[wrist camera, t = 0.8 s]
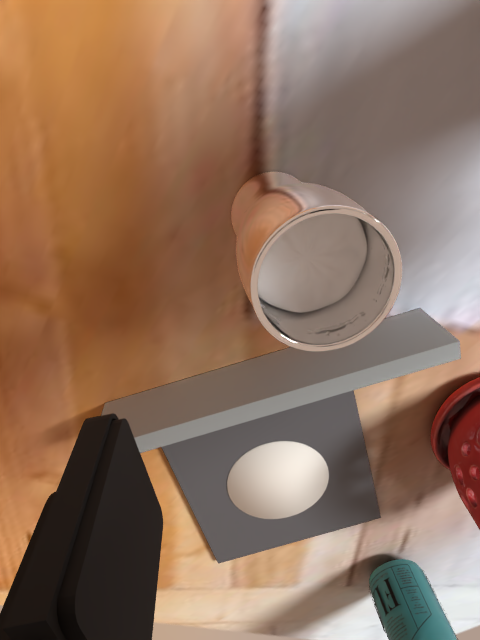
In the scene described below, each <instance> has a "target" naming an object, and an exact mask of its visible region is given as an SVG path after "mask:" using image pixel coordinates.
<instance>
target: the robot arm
mask: <svg viewBox="0 0 480 640" xmlns="http://www.w3.org/2000/svg"><path fill="white" fill-rule="evenodd" d="M162 531H163V516H162V511H161V507H160V505H159V502H158V499H157V497H156V494H155V491H154V489H153V486H152V484H151V481H150V478H149V476H148V473H147V470H146V468H145V465H144V462H143V460H142V457H141V455H140V452H139V449H138V447H137V444H136V441H135V439H134V436H133V434H132V431H131V428H130V426H129V423H128V421H127V420H126V419H125V418H123V419H118V417H117V415H116V414H114V413H112V414H107V415H102V416H97V417H92V418H88V419H86V420H85V421H84V423H83V425H82V428H81V430H80V433H79V435H78V438H77V440H76V443H75V446H74V448H73V451H72V453H71V456H70V458H69V461H68V463H67V466H66V468H65V471H64V473H63V476H62V479H61V481H60V484H59V486H58V489H57V491H56V492H54V493H53V494H51V495H50V496H49V498H48V500H47V502H46V503H45V506H44V508H43V511H42V513H41V515H40V518H39V520H38V523H37V525H36V528H35V530H34V533H33V535H32V537H31V540H30V542H29V545H28V547H27V550H26V552H25V554H24V557H23V559H22V562H21V564H20V567H19V569H18V572H17V574H16V576H15V579H14V581H13V584H12V586H11V589H10V591H9V593H8V596H7V598H6V601H5V603H4V606H3V608H2V611H1V613H0V640H152V631H153V621H154V611H155V601H156V591H157V581H158V571H159V561H160V551H161V541H162Z"/></svg>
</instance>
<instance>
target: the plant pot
mask: <svg viewBox="0 0 480 640" xmlns="http://www.w3.org/2000/svg"><path fill="white" fill-rule="evenodd" d="M431 446H432V449H433V452H434V454H435V456H436V458H437V459H438V461H439V462H440V463H441V464H442V465H443V466H445V467H446V468H447V469H449V470H451V474H452V478H453V481H454V484H455V486H456V489H457V491H458V493H459V495H460V498H461V499H462V501H463V503H464V505H465V506H466V508H467V510H468V511H469V513H470V514H471V516H472V518H473V519H474V521H475V523H476V524H477V526H478V528H479V529H480V377H479V378H476V379H474V380H472V381H470V382H468V383H466V384H465V385H463V386H461V387H460V388H459V389H457V390H456V391H455V392H453V393H452V394H451V395H450V396H449V397H448V398H447V399H446V400H445V402H444V403H443V404H442V406H441V407H440V409H439V410H438V412H437V414H436V416H435V419H434V422H433V425H432V429H431Z"/></svg>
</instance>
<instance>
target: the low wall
mask: <svg viewBox="0 0 480 640" xmlns="http://www.w3.org/2000/svg"><path fill="white" fill-rule="evenodd" d="M457 359H461V353H460V341H459V340H458V339H456V338H455V337H454V336H453V335H452V334H451V333H449V332H448V331H447V330H446V329H445V328H443V327H442V326H441V325H440V324H439V323H437V322H436V321H435V320H434V319H433V318H432V317H430V316H429V315H428V314H427V313H426V312H424V311H423V310H422V309H421V308H419V309H415V310H412V311H409V312H405V313H402V314H399V315H395V316H392V317H389V318H385V319H384V320H383V321H382V322H381V323H380V324H379V325H378V326H377V327H376V328H375V329H374V330H373V331H372V332H370V333H369V334H368V335H367V336H365V337H364V338H362V339H360V340H359V341H357V342H355V343H353V344H351V345H348V346H346V347H343V348H339V349H335V350H330V351H320V352H315V351H305V350H300V349H296V348H293V347H289V348H286V349H283V350H279V351H276V352H273V353H269V354H266V355H263V356H259V357H256V358H253V359H250V360H246V361H243V362H240V363H236V364H233V365H230V366H226V367H223V368H220V369H216V370H213V371H210V372H206V373H203V374H200V375H196V376H193V377H190V378H187V379H183V380H180V381H177V382H173V383H170V384H167V385H163V386H160V387H157V388H153V389H150V390H147V391H143V392H140V393H137V394H133V395H130V396H127V397H124V398H120V399H117V400H114V401H110V402H107V403H105V405H104V408H103V411H102V414H101V416H102V415H107V414H112V413H114V414H116V415H117V417H118V419H123V418H125V419H126V420H127V421H128V423H129V426H130V428H131V431H132V434H133V436H134V439H135V441H136V444H137V447H138V449H139V452H140V453H142V452H146V451H149V450H153V449H156V448H159V447H163V446H166V445H170V444H173V443H176V442H180V441H183V440H186V439H190V438H193V437H197V436H200V435H203V434H207V433H210V432H214V431H217V430H220V429H224V428H227V427H231V426H234V425H237V424H241V423H244V422H247V421H251V420H254V419H258V418H261V417H264V416H268V415H271V414H275V413H278V412H281V411H285V410H288V409H291V408H295V407H298V406H302V405H305V404H308V403H312V402H315V401H319V400H322V399H325V398H329V397H332V396H335V395H339V394H342V393H346V392H349V391H352V390H356V389H359V388H363V387H366V386H369V385H373V384H376V383H380V382H383V381H386V380H390V379H393V378H396V377H400V376H403V375H407V374H410V373H413V372H417V371H420V370H424V369H427V368H430V367H434V366H437V365H440V364H444V363H447V362H451V361H454V360H457Z"/></svg>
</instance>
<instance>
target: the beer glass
mask: <svg viewBox="0 0 480 640" xmlns="http://www.w3.org/2000/svg"><path fill="white" fill-rule="evenodd" d="M231 222H232V226H233V229H234V232H235V234H236V236H237V241H236V260H237V266H238V272H239V276H240V279H241V282H242V284H243V287H244V290H245V292H246V294H247V296H248V298H249V300H250V302H251V304H252V306H253V308H254V311H255V313H256V315H257V317H258V319H259V321H260V322H261V324H262V325H263V327H264V328H265V329H266V330H267V331H268V332H269V333H270V334H271V335H272V336H273V337H275V338H276V339H277V340H279V341H280V342H282V343H284V344H286V345H288V346H290V347H293V348H296V349H300V350H305V351H315V352H320V351H330V350H335V349H339V348H343V347H346V346H348V345H351V344H353V343H355V342H357V341H359V340H360V339H362V338H364V337H365V336H367V335H368V334H369V333H370V332H372V331H373V330H374V329H375V328H376V327H377V326H378V325H379V324H380V323H381V322H382V321H383V320H384V319H385V317H386V316H387V315H388V313H389V312H390V310H391V308H392V307H393V305H394V303H395V301H396V298H397V296H398V293H399V290H400V286H401V280H402V260H401V255H400V251H399V248H398V245H397V243H396V241H395V239H394V237H393V235H392V234H391V232H390V231H389V230H388V229H387V227H386V226H385V225H384V224H383V223H382V222H381V221H379V220H378V219H377V218H376V217H374V216H373V215H371V214H369V213H368V212H367V211H366V210H365V209H364V208H362V207H361V206H360V205H359V204H358V203H356V202H355V201H353V200H352V199H350V198H349V197H347V196H345V195H344V194H342V193H340V192H338V191H336V190H334V189H331V188H328V187H326V186H323V185H319V184H314V183H301V182H300V181H299V180H298V179H297V178H295V177H294V176H292V175H289V174H286V173H283V172H265V173H261V174H259V175H256V176H254V177H253V178H251V179H250V180H248V181H247V182H246V183H245V184H244V185H243V186H242V187H241V188H240V190H239V191H238V193H237V194H236V196H235V199H234V201H233V204H232V209H231Z"/></svg>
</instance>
